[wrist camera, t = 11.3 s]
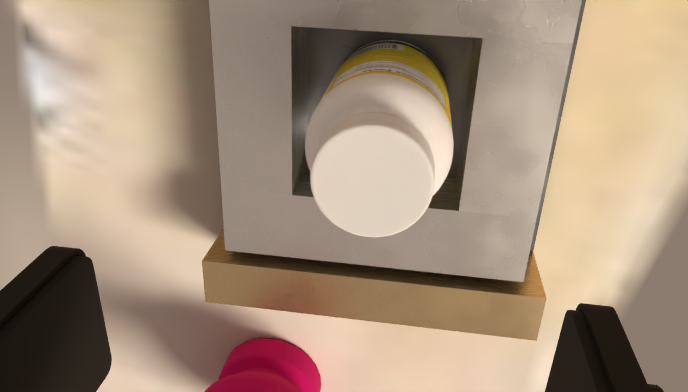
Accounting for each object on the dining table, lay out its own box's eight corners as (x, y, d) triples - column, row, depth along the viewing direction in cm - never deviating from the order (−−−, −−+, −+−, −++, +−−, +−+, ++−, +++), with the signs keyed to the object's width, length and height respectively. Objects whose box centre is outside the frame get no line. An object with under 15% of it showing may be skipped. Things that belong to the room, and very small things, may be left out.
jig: (213, -153, 24) (164, -167, 20) (608, -141, 23) (651, -155, 18) (236, 252, 33) (205, 304, 29) (521, 283, 32) (535, 343, 27)
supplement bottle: (403, 171, 29) (388, 285, 20) (311, 108, 28) (254, 198, 19) (474, 83, 26) (492, 168, 18) (375, 12, 25) (344, 64, 17)
